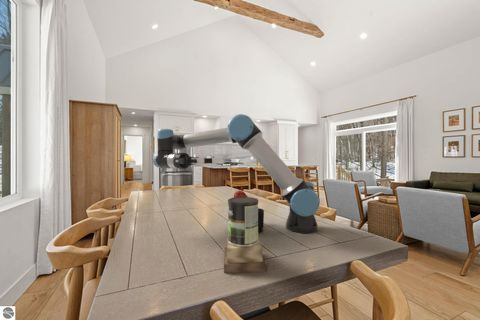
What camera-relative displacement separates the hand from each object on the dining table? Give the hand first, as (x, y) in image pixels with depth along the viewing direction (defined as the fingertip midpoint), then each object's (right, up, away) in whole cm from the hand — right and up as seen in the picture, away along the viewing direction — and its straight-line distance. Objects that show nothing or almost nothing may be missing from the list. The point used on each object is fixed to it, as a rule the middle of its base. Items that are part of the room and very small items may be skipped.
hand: (214, 160), depth 92 cm
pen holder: (+18, -34, +13) cm, 41 cm away
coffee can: (+12, -27, -19) cm, 35 cm away
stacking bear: (+11, -34, +25) cm, 43 cm away
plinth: (+12, -34, -19) cm, 41 cm away
